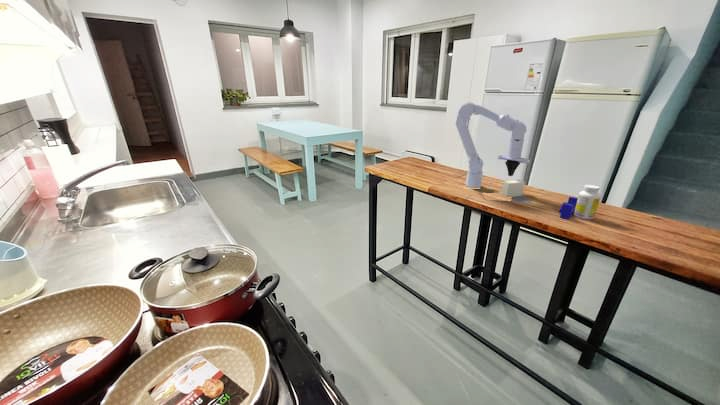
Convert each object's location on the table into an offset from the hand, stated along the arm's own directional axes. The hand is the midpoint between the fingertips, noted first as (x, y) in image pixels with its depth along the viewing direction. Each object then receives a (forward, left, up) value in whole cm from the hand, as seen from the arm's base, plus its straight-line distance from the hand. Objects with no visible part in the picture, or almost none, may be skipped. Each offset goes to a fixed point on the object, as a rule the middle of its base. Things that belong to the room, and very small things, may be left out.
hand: (510, 175), depth 140 cm
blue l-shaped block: (+26, +15, -9) cm, 31 cm away
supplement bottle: (+28, +21, -9) cm, 36 cm away
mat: (+9, -4, -9) cm, 13 cm away
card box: (+7, 0, -8) cm, 11 cm away
